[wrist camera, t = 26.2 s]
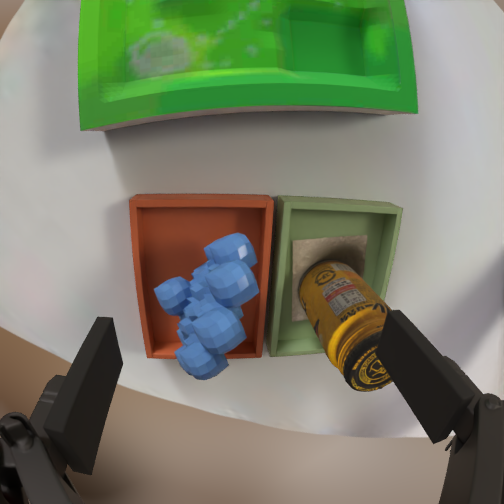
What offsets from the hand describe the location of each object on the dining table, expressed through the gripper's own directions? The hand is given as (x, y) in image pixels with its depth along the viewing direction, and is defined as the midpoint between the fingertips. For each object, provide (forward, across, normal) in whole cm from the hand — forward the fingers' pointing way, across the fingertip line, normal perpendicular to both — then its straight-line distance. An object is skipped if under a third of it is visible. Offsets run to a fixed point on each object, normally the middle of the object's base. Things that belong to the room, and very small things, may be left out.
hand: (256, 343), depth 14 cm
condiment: (+14, -9, +4) cm, 17 cm away
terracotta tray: (+14, +3, +3) cm, 15 cm away
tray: (+14, 0, -24) cm, 28 cm away
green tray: (+14, -9, +3) cm, 17 cm away
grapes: (+14, +3, +2) cm, 15 cm away
